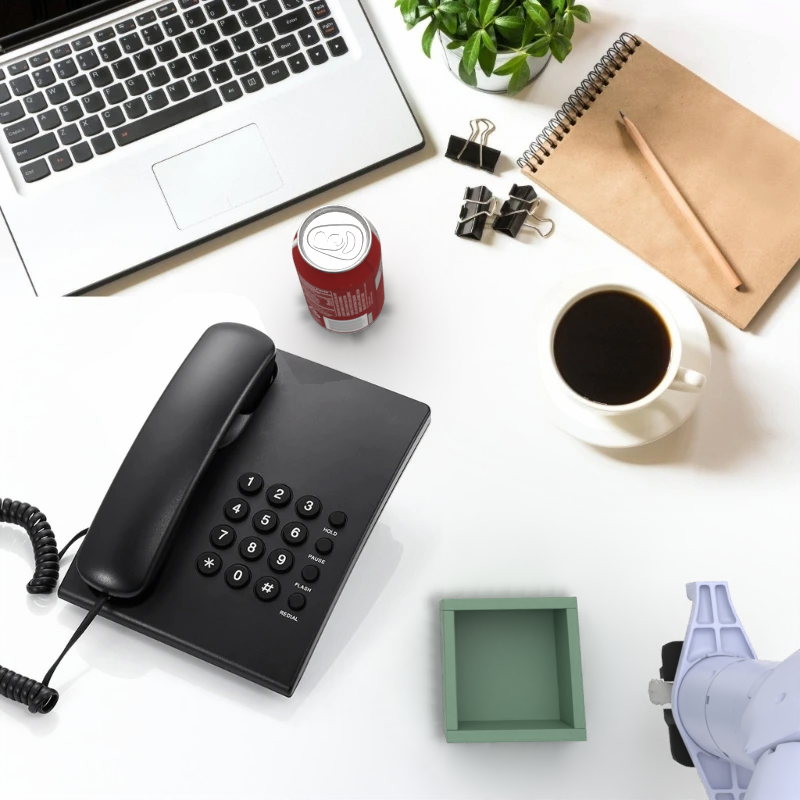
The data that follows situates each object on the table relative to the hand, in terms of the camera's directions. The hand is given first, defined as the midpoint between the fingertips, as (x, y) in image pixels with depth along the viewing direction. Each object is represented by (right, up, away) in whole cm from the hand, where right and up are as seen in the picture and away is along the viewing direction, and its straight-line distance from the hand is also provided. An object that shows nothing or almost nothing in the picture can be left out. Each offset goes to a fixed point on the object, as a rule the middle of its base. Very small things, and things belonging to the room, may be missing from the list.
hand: (675, 693), depth 57 cm
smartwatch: (0, 0, +2) cm, 2 cm away
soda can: (-24, +29, +14) cm, 41 cm away
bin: (-11, 0, +6) cm, 13 cm away
